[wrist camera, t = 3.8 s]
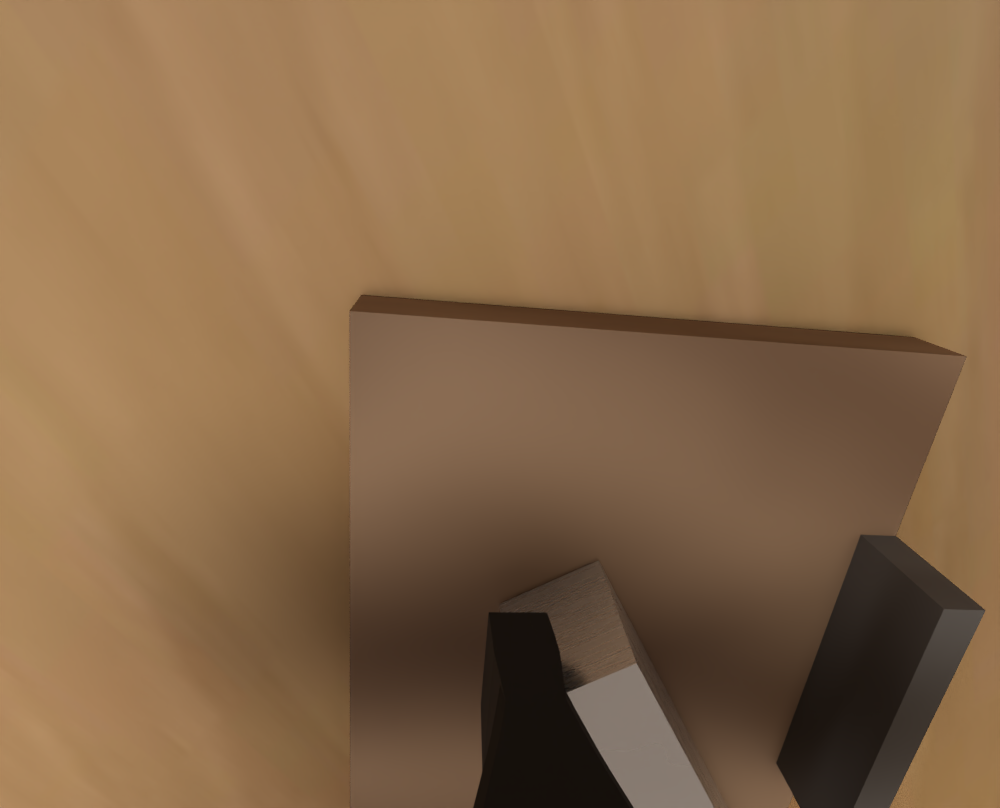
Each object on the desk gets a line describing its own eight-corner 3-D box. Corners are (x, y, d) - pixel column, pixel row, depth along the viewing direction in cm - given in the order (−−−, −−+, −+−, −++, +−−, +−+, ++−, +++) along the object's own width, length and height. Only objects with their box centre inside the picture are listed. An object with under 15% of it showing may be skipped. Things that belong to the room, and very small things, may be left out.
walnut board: (726, 863, 16) (786, 1017, 13) (357, 870, 15) (334, 1039, 12) (914, 337, 11) (1088, 400, 8) (361, 295, 10) (321, 349, 7)
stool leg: (748, 846, 14) (808, 987, 12) (670, 875, 14) (714, 1019, 12) (598, 559, 11) (640, 674, 8) (500, 604, 11) (511, 727, 8)
